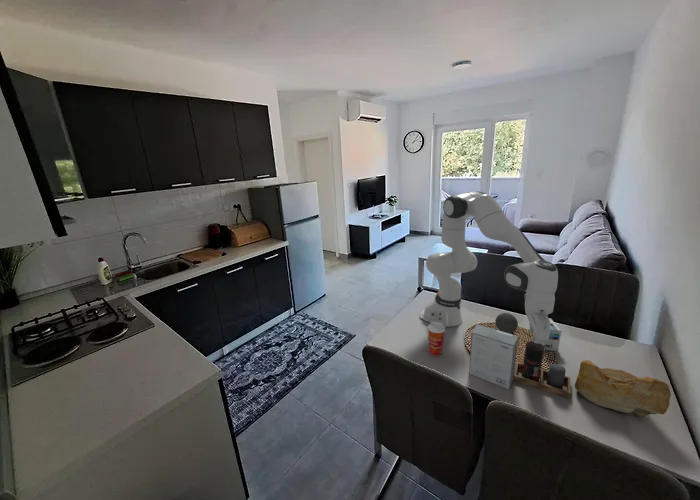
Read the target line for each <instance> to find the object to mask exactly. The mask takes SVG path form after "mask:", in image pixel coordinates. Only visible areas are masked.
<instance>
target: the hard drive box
mask: <svg viewBox="0 0 700 500" xmlns="http://www.w3.org/2000/svg"><path fill="white" fill-rule="evenodd" d="M518 342H519V336H518V335H516V334H512V333H506V332H502V331H500V330H499V329H496V328H492V327H488V326H483V325H480V324H476V326H475V327H474V328H473V330H472V331H471V338H470V353H469V355H470V356H469V367H468V368H469V369H468V371H469V372H468V374H469V375H471V376H474V377H477V378H478V379H480V380H481V379H482V380H484V381H486V382H488V383H492V384H496V385H498V386H500V387H502V388H505V389H508V390H510V389H511V386H512V383H513V382H514V381H513V379H514V373H515V368H516V362H517V361H516V360H517V352H518V351H517V350H518Z"/></svg>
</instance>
